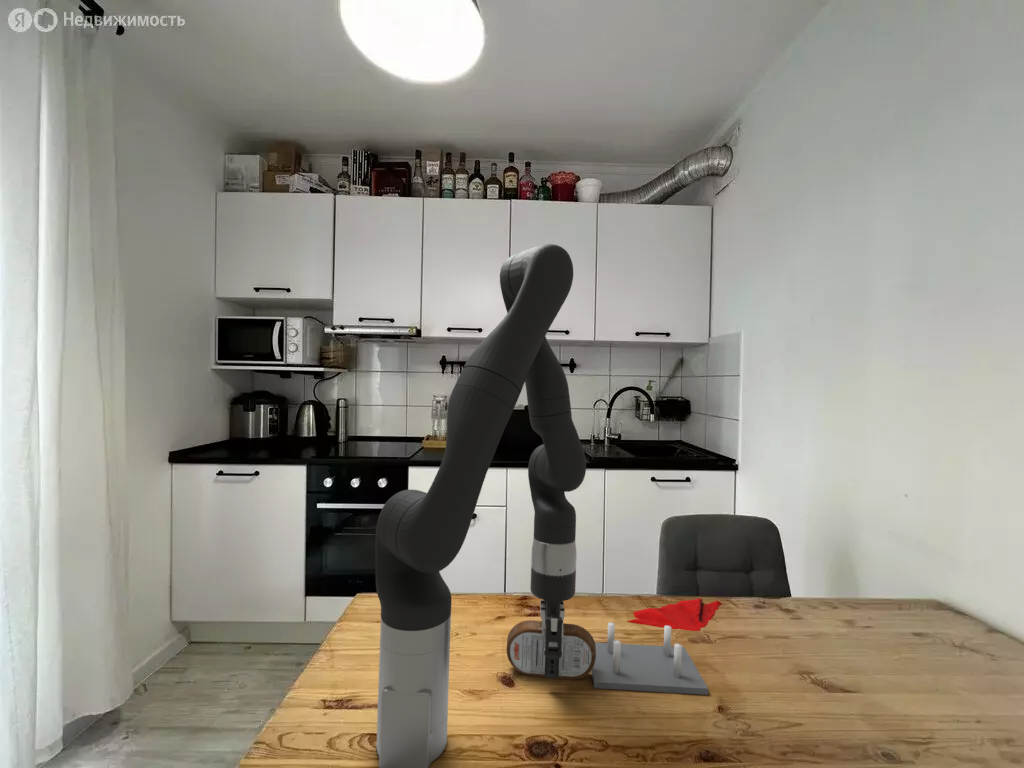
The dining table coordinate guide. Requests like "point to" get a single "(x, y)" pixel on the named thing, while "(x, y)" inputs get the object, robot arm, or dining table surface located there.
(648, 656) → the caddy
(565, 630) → the tin
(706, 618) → the cloth
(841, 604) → the dining table surface
